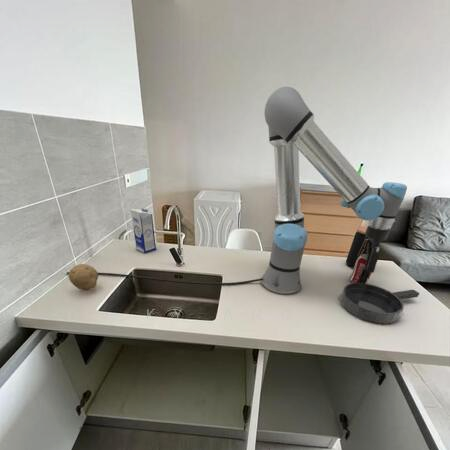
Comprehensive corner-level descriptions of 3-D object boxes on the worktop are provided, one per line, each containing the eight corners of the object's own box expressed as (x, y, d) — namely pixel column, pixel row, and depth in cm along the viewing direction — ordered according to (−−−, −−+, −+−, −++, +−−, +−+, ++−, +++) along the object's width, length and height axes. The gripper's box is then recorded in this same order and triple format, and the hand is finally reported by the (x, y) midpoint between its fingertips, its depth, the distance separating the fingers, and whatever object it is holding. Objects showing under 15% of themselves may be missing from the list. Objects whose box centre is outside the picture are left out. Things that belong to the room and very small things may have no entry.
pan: (366, 328, 78) (371, 317, 75) (328, 295, 94) (332, 285, 91) (411, 320, 83) (417, 309, 80) (368, 289, 99) (372, 280, 96)
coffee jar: (374, 270, 114) (389, 233, 105) (355, 272, 111) (369, 234, 102) (357, 260, 123) (370, 225, 113) (340, 262, 120) (352, 226, 111)
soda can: (368, 287, 100) (379, 261, 94) (351, 285, 101) (361, 259, 95) (364, 279, 106) (374, 254, 100) (347, 277, 107) (356, 252, 101)
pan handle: (392, 301, 88) (394, 296, 87) (386, 297, 90) (388, 293, 89) (417, 297, 91) (419, 293, 90) (411, 293, 93) (413, 289, 93)
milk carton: (136, 249, 121) (130, 208, 110) (147, 245, 125) (143, 206, 115) (144, 253, 117) (139, 211, 107) (156, 249, 121) (152, 209, 111)
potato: (81, 282, 93) (74, 258, 88) (105, 283, 93) (99, 259, 88) (68, 295, 85) (60, 270, 80) (94, 296, 85) (87, 271, 80)
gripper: (400, 238, 81) (375, 293, 93) (381, 220, 99) (362, 269, 111) (376, 235, 83) (354, 290, 95) (361, 218, 101) (345, 266, 112)
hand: (358, 279), depth 103 cm, fingers open, 8 cm apart
